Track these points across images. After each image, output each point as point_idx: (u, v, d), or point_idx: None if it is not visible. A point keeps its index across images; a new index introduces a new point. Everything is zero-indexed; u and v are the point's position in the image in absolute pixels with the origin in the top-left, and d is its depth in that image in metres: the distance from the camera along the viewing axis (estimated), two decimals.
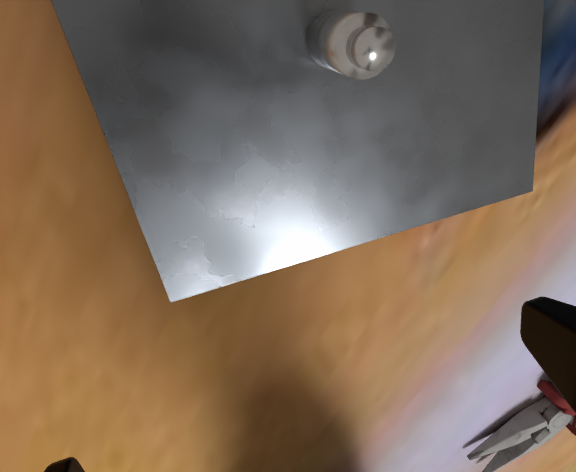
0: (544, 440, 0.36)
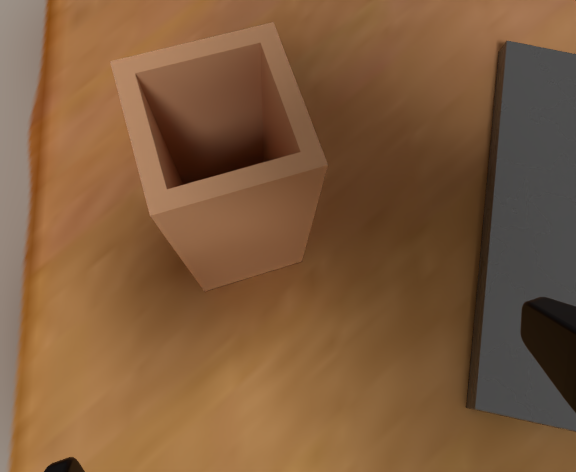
0: None
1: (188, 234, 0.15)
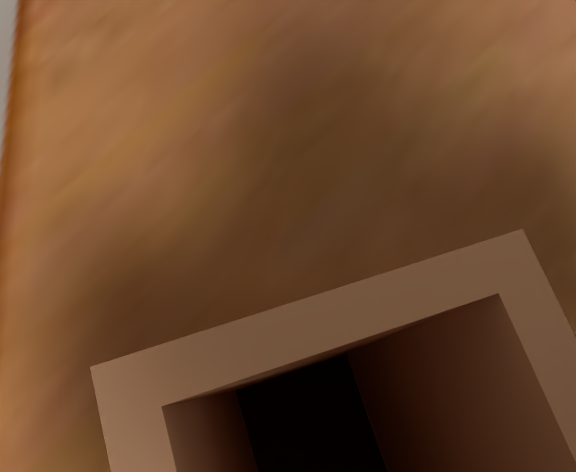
0: None
1: None
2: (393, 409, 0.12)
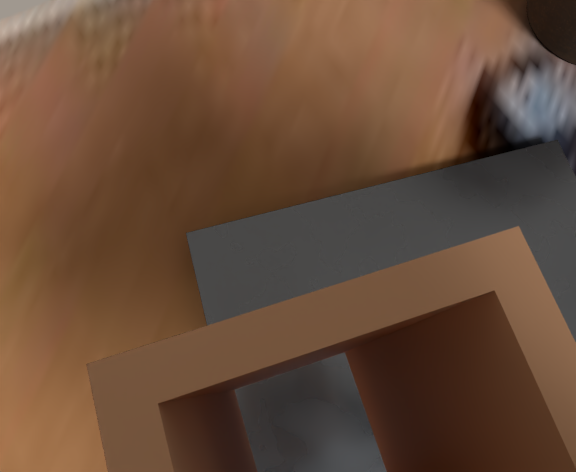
0: None
1: None
2: (391, 408, 0.12)
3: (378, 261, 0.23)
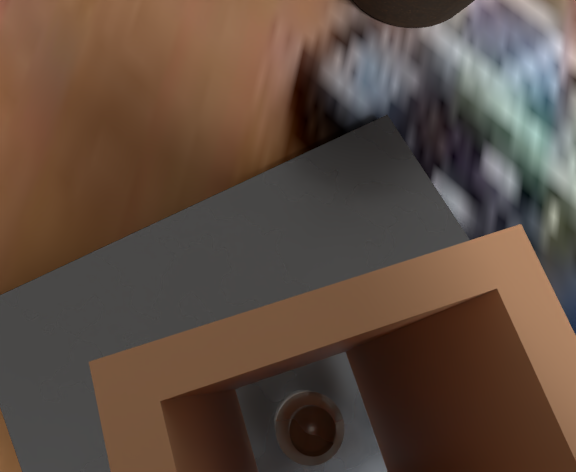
0: None
1: None
2: (392, 407, 0.12)
3: (200, 295, 0.20)
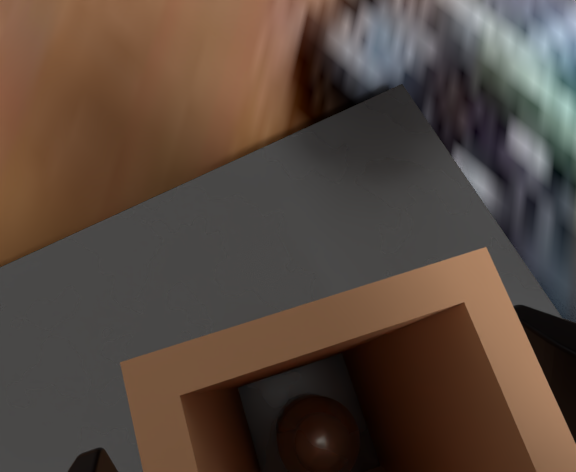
0: None
1: None
2: (384, 405, 0.13)
3: (191, 285, 0.17)
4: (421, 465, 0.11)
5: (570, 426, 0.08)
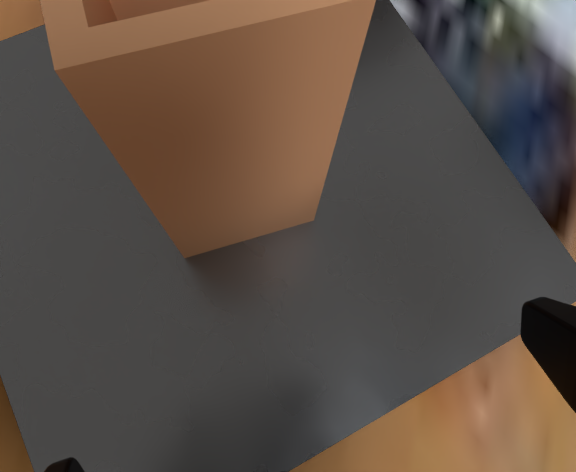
0: None
1: (139, 135, 0.09)
2: None
3: None
4: None
5: None
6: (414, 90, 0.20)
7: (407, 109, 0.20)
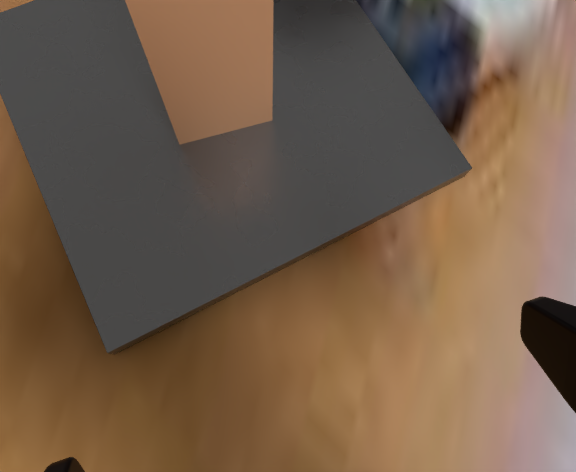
0: None
1: (151, 16, 0.16)
2: None
3: None
4: None
5: None
6: (349, 32, 0.27)
7: (343, 45, 0.27)
